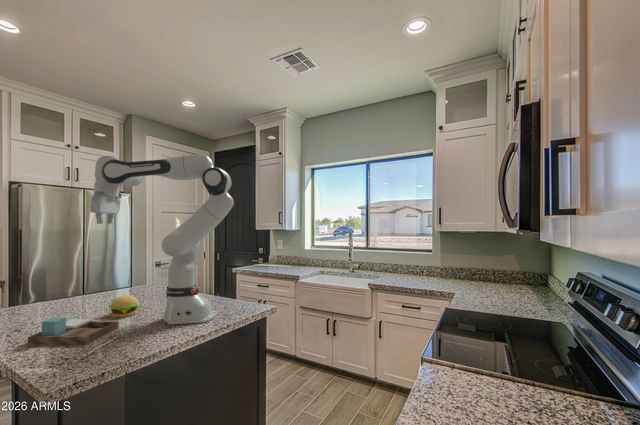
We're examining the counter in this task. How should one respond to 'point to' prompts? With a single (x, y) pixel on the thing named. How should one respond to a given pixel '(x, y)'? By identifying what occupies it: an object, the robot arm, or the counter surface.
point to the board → (76, 334)
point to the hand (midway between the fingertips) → (104, 223)
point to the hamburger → (124, 306)
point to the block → (53, 326)
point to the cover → (74, 322)
